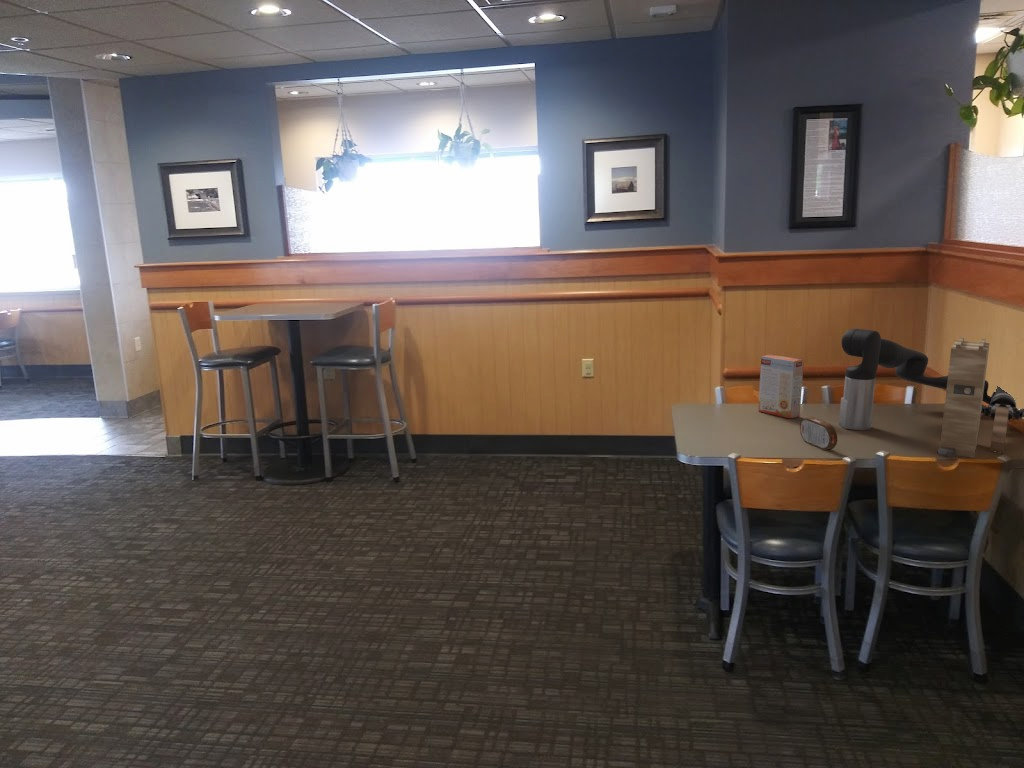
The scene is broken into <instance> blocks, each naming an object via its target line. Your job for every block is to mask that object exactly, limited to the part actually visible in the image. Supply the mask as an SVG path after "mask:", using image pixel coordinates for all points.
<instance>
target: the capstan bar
mask: <svg viewBox="0 0 1024 768" xmlns="http://www.w3.org/2000/svg"><path fill="white" fill-rule="evenodd" d="M1008 412H1009V408H1007V407H997V406H996V412H995V419H993V420H994V421H993V427H992V435H991V441H990V448H989V449H990V450H989V452H990V451H996V452H995V453H997V452H1001V453H1000V454H1005V446H1006V439H1007V431H1008V430H1007V429H1008V421H1009V420H1008Z"/></svg>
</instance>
